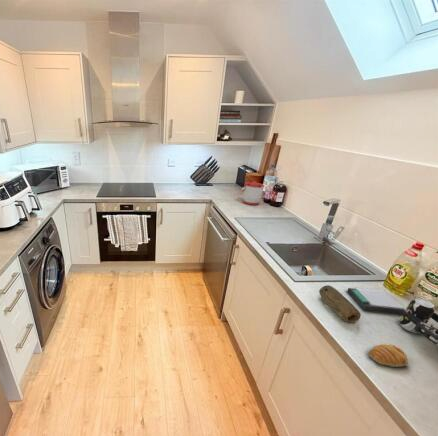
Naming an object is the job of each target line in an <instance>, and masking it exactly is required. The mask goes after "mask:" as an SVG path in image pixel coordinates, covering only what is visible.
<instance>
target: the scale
mask: <svg viewBox="0 0 438 436" xmlns="http://www.w3.org/2000/svg"><path fill="white" fill-rule="evenodd" d="M346 293H347V294H348V295H349V297H351V299H352V300H353V301H354V302H355V303H356V304H357V305H358V307H360V308H361V310H362V311H364V312H372V313H380V314H381V313H382V314H391V315H398V316H402V315H403V314H404V312H405V310H406V309H405V308H404V306H402V305H401V304H400V303H399V302H398V301H397V300H396V299H394V298H393V296H392V295H390V294H389V293H388V292H387V291H386V290H382V289H370V288H361V287H355V288H354V287H353V288H352V287H348V288H347V291H346Z"/></svg>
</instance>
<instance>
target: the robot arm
mask: <svg viewBox="0 0 438 436" xmlns="http://www.w3.org/2000/svg"><path fill="white" fill-rule="evenodd" d="M407 319H408V320H410V321H411V322H412V323H414V324H415V325H416V327H415V329H414V330H415V331H417V332H418V333H417V334H419V335H421V336H422V337H424V338H425V339H426V340H428V341H429V342H431V344H433V345H438V326H437V325H435V324H429V323H427V324H426V323H424V322H423V321H422V320H420V319H419V318H417V317H416V316H415V315H413V314H408V316H407ZM430 319H432V320H433V321H435V322H436V323H438V313H437V312H434V313H433V315H432V316H431V318H430ZM424 326H425V327H424ZM421 330H422V331H421Z"/></svg>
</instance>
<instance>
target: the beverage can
mask: <svg viewBox="0 0 438 436" xmlns="http://www.w3.org/2000/svg"><path fill="white" fill-rule="evenodd" d="M435 311H436V309H435V305H434V304H433V303H432V302H431V301H429V300H427V299H425V298H421V297H420V298H419V297H416V298H415V299H412V300H411V301H410V302H409V303H408V304H407V306H406V309H405V312H404V314H403V315H401V317H400V319H399V321H398V323H399V325H400V326H401V327H402V328H403V329H404V330H406V331H408V332H411V333H415V334H419V333H418V332H417V331H415V330H414V329H415V327H416V325H415V324H414V323H412V322H411V321H410V320H408V319H407V316H408V314H413V315H415V316H416V317H417V318H419V319H420V320H422V321H423V322H424V323H426V324H428V322H430V321H429V320H430V319H432V318H431V316H432V315H433V313H435ZM424 327H426V326H424ZM421 331H422V330H421ZM422 332H423V331H422Z"/></svg>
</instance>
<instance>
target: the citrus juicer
mask: <svg viewBox="0 0 438 436" xmlns="http://www.w3.org/2000/svg"><path fill="white" fill-rule="evenodd" d="M264 188H265V185H264V184H263V183H259V182H257V181H256V180H254V181H251V182H250V181H249V182H248V181H247V182H245V183H244V186H242V188H241V191H243V193H242V198H243V203H244V204H246V205H249V206H257V205H259V203H260V201H261V200H262V197H263V192H264Z"/></svg>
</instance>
